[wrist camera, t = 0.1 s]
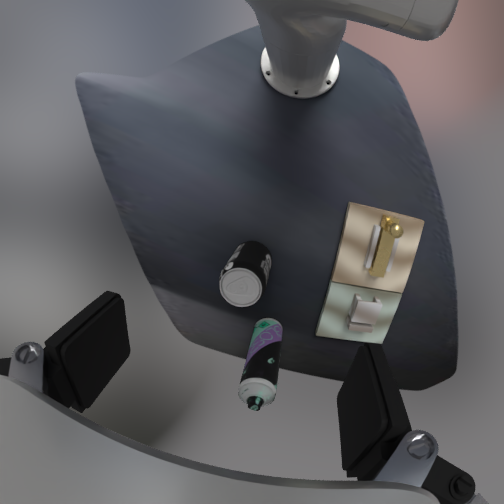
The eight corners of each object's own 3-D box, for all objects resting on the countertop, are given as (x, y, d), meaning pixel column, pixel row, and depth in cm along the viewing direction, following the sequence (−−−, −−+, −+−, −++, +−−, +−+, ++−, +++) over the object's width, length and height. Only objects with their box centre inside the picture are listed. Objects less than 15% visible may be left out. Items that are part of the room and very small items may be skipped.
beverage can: (275, 272, 48) (269, 306, 37) (239, 278, 49) (223, 312, 38) (267, 236, 46) (258, 261, 35) (230, 243, 48) (210, 269, 36)
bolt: (383, 214, 40) (392, 220, 36) (395, 217, 40) (406, 223, 36) (368, 271, 44) (375, 283, 39) (380, 273, 43) (388, 285, 39)
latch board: (348, 201, 42) (354, 206, 38) (420, 219, 41) (432, 225, 37) (315, 330, 51) (316, 345, 46) (380, 339, 49) (385, 352, 45)
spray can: (281, 317, 51) (272, 396, 32) (283, 340, 52) (275, 419, 34) (253, 317, 52) (231, 394, 33) (255, 340, 53) (237, 418, 35)
